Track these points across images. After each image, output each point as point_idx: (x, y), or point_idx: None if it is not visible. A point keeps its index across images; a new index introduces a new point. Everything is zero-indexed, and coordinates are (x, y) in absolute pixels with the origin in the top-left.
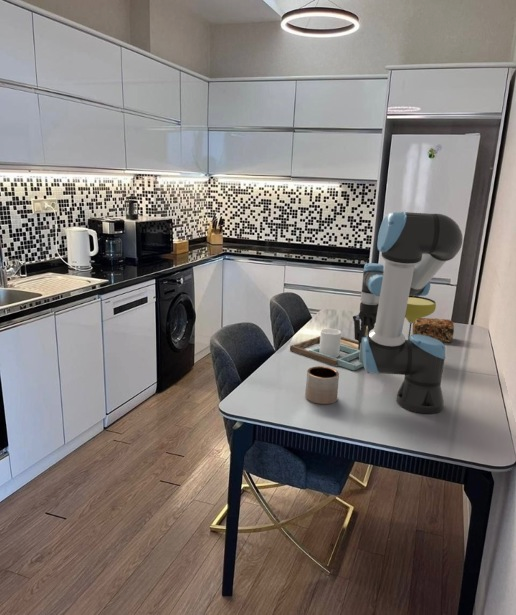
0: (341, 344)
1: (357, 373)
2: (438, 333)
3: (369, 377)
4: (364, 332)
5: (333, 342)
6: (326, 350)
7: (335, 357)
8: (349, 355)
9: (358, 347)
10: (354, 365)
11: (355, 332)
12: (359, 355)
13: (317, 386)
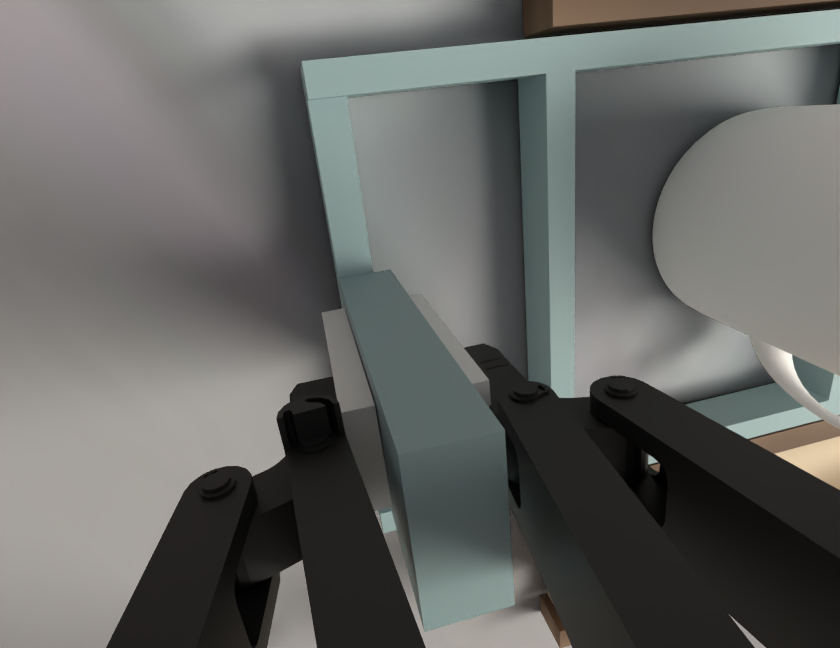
0: (762, 444)
1: (217, 43)
2: None
3: (31, 64)
4: (568, 598)
5: (838, 180)
6: (791, 115)
7: (656, 209)
8: (554, 288)
9: (496, 353)
10: (303, 68)
11: (731, 450)
12: (425, 306)
13: None
